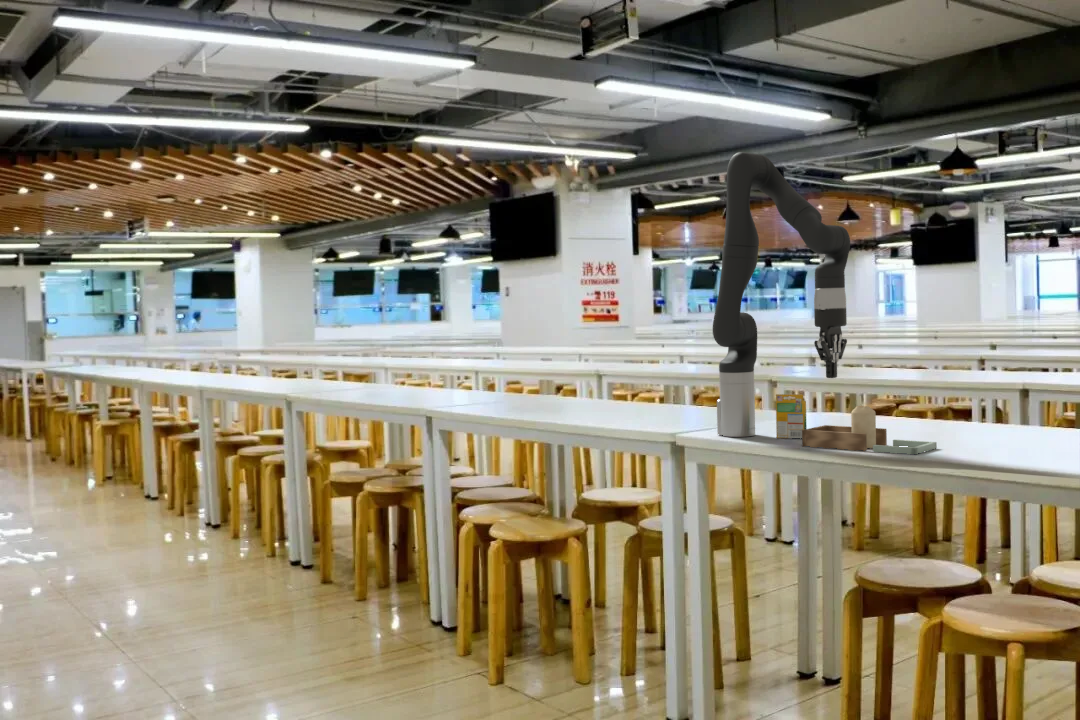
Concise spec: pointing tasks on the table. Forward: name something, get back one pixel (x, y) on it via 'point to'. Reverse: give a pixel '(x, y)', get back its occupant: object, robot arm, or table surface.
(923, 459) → the table surface
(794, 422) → the crayon box
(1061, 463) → the table surface
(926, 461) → the table surface
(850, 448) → the cubby
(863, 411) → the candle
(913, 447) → the mint green u-bracket
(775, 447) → the table surface
